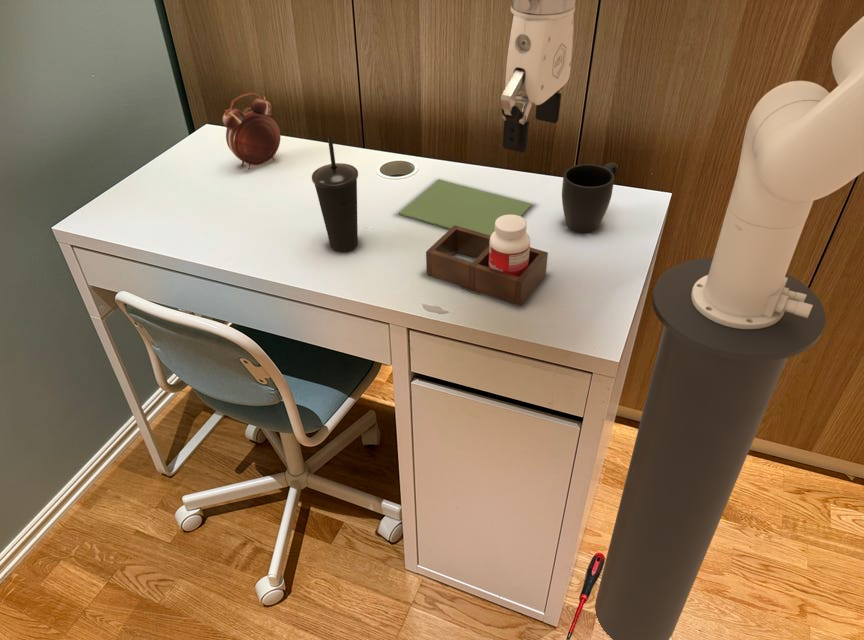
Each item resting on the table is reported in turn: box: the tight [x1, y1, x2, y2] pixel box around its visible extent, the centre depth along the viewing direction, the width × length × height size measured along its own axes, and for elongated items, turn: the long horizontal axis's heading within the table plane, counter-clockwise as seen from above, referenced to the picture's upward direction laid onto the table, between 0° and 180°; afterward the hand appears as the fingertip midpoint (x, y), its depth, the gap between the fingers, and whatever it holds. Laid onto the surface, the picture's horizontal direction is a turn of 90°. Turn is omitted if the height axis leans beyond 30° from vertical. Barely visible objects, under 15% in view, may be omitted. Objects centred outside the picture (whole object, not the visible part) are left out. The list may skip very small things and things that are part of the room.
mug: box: [561, 162, 619, 234], centre depth 122 cm, size 8×12×10 cm
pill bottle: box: [489, 215, 531, 277], centre depth 110 cm, size 6×6×11 cm
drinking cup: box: [311, 136, 359, 253], centre depth 119 cm, size 8×8×20 cm
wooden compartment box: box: [425, 225, 549, 306], centre depth 114 cm, size 17×9×4 cm, turn 55°
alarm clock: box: [222, 91, 281, 170], centre depth 146 cm, size 11×5×15 cm, turn 124°
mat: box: [398, 179, 533, 236], centre depth 131 cm, size 20×14×1 cm
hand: (530, 134), depth 95 cm, fingers open, 9 cm apart
